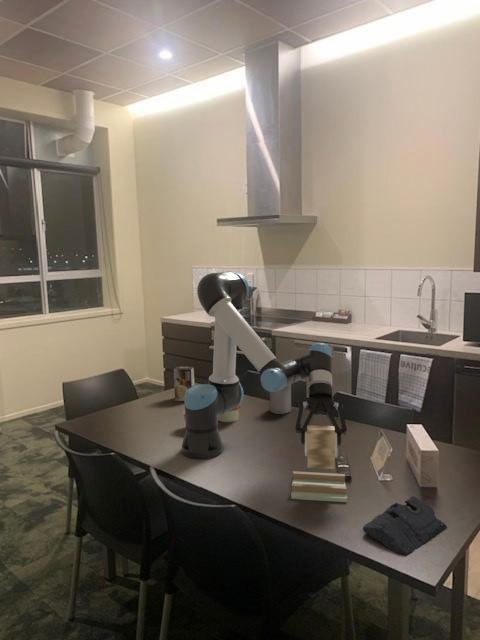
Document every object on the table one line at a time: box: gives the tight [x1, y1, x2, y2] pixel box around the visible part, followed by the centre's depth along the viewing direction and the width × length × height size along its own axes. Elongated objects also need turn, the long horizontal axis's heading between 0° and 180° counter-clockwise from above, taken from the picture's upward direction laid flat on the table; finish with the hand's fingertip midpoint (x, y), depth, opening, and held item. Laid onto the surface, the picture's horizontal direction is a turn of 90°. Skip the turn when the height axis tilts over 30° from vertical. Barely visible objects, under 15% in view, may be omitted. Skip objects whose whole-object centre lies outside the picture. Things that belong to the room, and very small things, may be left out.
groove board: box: [290, 470, 348, 503], centre depth 148 cm, size 16×14×3 cm
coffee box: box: [173, 365, 196, 402], centre depth 240 cm, size 9×6×16 cm
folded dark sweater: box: [362, 496, 448, 557], centre depth 127 cm, size 15×22×5 cm
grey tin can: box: [269, 384, 292, 415], centre depth 221 cm, size 10×10×15 cm
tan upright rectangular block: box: [306, 424, 336, 470], centre depth 146 cm, size 8×4×12 cm, turn 81°
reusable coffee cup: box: [218, 404, 241, 423], centre depth 211 cm, size 13×13×15 cm
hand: (321, 454), depth 144 cm, fingers closed on tan upright rectangular block, 8 cm apart
